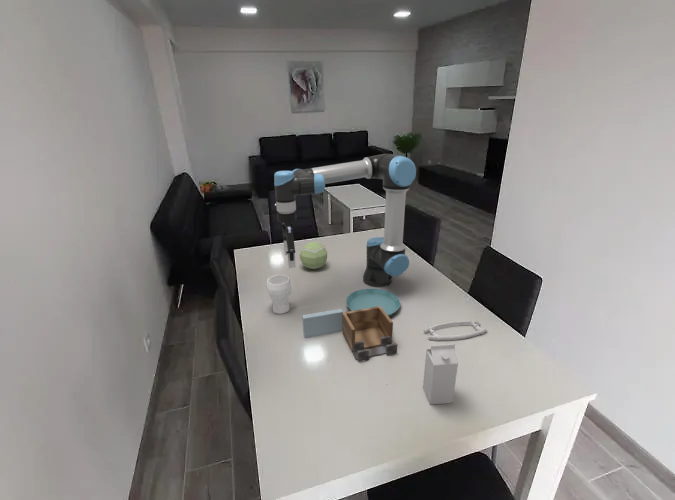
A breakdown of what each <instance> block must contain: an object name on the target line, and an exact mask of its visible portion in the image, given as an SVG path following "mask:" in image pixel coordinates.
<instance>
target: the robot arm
mask: <svg viewBox="0 0 675 500" xmlns="http://www.w3.org/2000/svg"><path fill="white" fill-rule="evenodd" d="M416 174H417V167H416V165H415V163H414V161H413V160H411V159H410V158H409V157H406V156H403V155H397V154H393V153H382V154H377V155H372V156H367V157H364V158H363V159H362V160H361V159H360V160H355V161H349V162H342V163H335V164H329V165H323V166H318V167H311V168H305V169H302V168H295V169H293V170H278V171H276V172H274V175H273V176H274V177H273V178H274V181H273V182H274V183H273V184H274V194H275V202H276V203H275V204H274V207H276V211H277V212H276V218H277V222H278V223H280V224H282V225H281V227H282V237H283V238H282V239H283V249H284V256H287V262H288V264H287V265H288V269H293V268H296V267H297V265H296V248H295V247H296V246H295V239H294V226H293V224H292V223H294V222H296V221H297V212H296V211H297V205H296V203H297V202H296V196H304V195H305V196H307V195H317V194H322V193H323V192H324V191H326V190H325V188H326V184H333V183H338V182H345V181H350V180H355V179H356V180H357V179H362V178H365V179H367V180H368V179H369V180H370V179H378V180H382V189H383V190H384V191H385V205H384V206H385V210H384V226H383V227H384V229H383V237H382V236H379V237H377V236H376V237H370V238H369V239H368V240H367V242H366V245H365V247H366V267H365V270H364V272H363V276H362V281H363V283H364V284H366V285H368V286H370V287H376V288H382V287H383V288H384V287H387V286H390V284H392V283H393V277H398V276H401V275H403V274H404V273H405V272H406V271H407V269H408V268H409V265H410V259H409V257H408V256H407V255H406V244H404V243H403V242H404V241H403V240H404V228H405V227H404V226H405V211H406V209H405V208H406V195H407V192H408V191H409V190H410V188H411V184H412V183H413V182H414V181H415V179H416V177H417V175H416Z"/></svg>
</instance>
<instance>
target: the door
mask: <svg viewBox="0 0 675 500" xmlns="http://www.w3.org/2000/svg"><path fill="white" fill-rule="evenodd" d="M343 312H344V311H343V310H342V308H338V309H337V308H336V309H331V310H326V311H325V310H324V311H320V312H319V311H318V312H314V313H309V314H303V315H301V318H302V319H301V320H302V331H303V337H304V338H305V339H306V338H312V337H317V336H321V335H327V334H328V335H329V334H332V333H338V332H343V327H342V313H343Z"/></svg>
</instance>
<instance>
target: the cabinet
mask: <svg viewBox="0 0 675 500" xmlns="http://www.w3.org/2000/svg"><path fill="white" fill-rule="evenodd" d="M342 327H343V331H342V335H343V338H344V340H345V342H346V343H347V346H348V347H349V349H350V351H351V354H352V356H353V357H354V359H355V361H357V362H358V363H359V362H364V361H369V360H370V359H369V358H373V357H378V356H383V355H386V356H387V357H388V356H393V355H397V354H398V342H394V343H393V332H394V331H393V329H394V322H393V320H392V319H391V318H390V316H388V315H387V314H386V312H385V311H384V310H383V309H382V307H381V306H378V307H372V308H366V309H361V310H355V311H351V310H349V311H343V313H342Z"/></svg>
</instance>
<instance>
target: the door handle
mask: <svg viewBox="0 0 675 500" xmlns="http://www.w3.org/2000/svg"><path fill="white" fill-rule="evenodd" d="M458 325H463V326H471V327H473V328H474V330H476V331H473V332H469V333H463V334H457V335H440V333H437V332H436V331H437V330H440V329H445V328H450V326H451V327H459V326H458ZM479 325H482V324H481V323H480V322H479V321H476V320H460V321H459V320H457V321H449V322H444V323H440V324H436V325H431V326H429V327H428V328H426V329H423V332H424V334H428V333H429V334H431V335H427V338H428V339H429V340H430V341H434V342H441V341H442V342H443V341H447V342H449V341H459V340H465V339H469V338H473V337H477V336H482V335H483V334H485V333H487V332H488V329H486V328H484V327H481V326H479Z"/></svg>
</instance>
